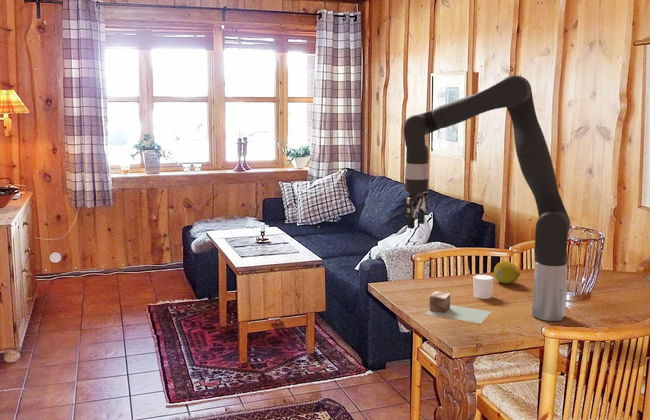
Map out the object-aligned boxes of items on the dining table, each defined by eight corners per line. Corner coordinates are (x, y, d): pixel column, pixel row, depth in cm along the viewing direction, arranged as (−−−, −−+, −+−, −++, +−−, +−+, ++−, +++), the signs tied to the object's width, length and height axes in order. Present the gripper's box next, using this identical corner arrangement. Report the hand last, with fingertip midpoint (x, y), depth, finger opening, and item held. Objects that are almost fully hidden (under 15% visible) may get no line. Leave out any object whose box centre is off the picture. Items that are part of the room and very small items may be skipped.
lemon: (488, 280, 246) (489, 259, 245) (507, 278, 249) (508, 257, 247) (505, 288, 236) (506, 266, 235) (524, 286, 238) (525, 264, 237)
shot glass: (493, 300, 224) (494, 280, 222) (472, 299, 225) (473, 279, 224) (492, 294, 230) (493, 274, 229) (472, 293, 232) (472, 273, 230)
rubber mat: (491, 312, 212) (491, 311, 212) (480, 324, 202) (480, 323, 202) (437, 303, 221) (437, 302, 221) (423, 314, 211) (423, 313, 210)
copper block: (449, 308, 215) (450, 293, 214) (444, 313, 211) (445, 297, 210) (435, 306, 217) (435, 291, 217) (429, 310, 213) (429, 295, 212)
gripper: (419, 180, 210) (418, 231, 214) (435, 174, 223) (434, 223, 226) (397, 179, 214) (396, 229, 217) (414, 173, 226) (414, 221, 229)
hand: (416, 225), depth 221 cm, fingers open, 8 cm apart
